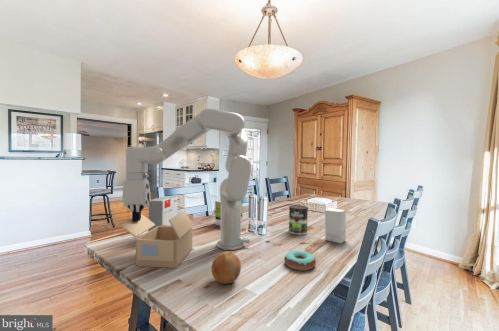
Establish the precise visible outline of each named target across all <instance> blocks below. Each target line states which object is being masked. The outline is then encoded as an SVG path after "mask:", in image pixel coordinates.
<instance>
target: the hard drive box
mask: <svg viewBox="0 0 499 331" xmlns="http://www.w3.org/2000/svg"><path fill="white" fill-rule="evenodd" d="M178 198H179V197H178V196H173V195H172V196H168V195H165V196H160V197H158V198H153V199H151V201H150V202H149V205H150V206H149V207H148V219H149V220H150V221H152V222H153V223H154V224H155V226H153V227H152V228H150V229H148V230H147V232H149V231H150V230H152V229H154V228H155V227H157V226H160V225H171V224H170V222H169V220H170V219H171V218H173V217H175V216H176V215H178V206H179V205H178V202H179V201H178Z"/></svg>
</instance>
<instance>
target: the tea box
mask: <svg viewBox="0 0 499 331" xmlns="http://www.w3.org/2000/svg"><path fill="white" fill-rule="evenodd" d="M214 205H215V206H214V208H215V210H214V211H215V212H214V213H215V216H214V218H215V221H214V222H215V225H216V226H219V227H220V215H221V202H220V200H216V201H215V202H214ZM241 223H243V199H242V200H241Z"/></svg>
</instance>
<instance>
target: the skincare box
mask: <svg viewBox="0 0 499 331" xmlns="http://www.w3.org/2000/svg"><path fill="white" fill-rule="evenodd" d="M324 222H325V223H324V226H325V227H324V229H325V232H324V234H325V239H324V240H325V241H328V242H332V243H336V244H337V243H338V244H342V243H344V242H345V241H346V239H347V237H346V235H347V234H346V230H347V229H346V209H339V208H332V207H329V208H327V209H324Z"/></svg>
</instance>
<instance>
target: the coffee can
mask: <svg viewBox="0 0 499 331" xmlns="http://www.w3.org/2000/svg"><path fill="white" fill-rule="evenodd" d="M288 208H289V210H288V214H289V215H288V216H289V217H288V232H289V233H290V234H293V235H299V236H301V235H302V236H303V235H307V234H308V218H309V217H308V214H309V212H308V211H309V207H308V206H306V205H301V204H292V205H289V206H288Z"/></svg>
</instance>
